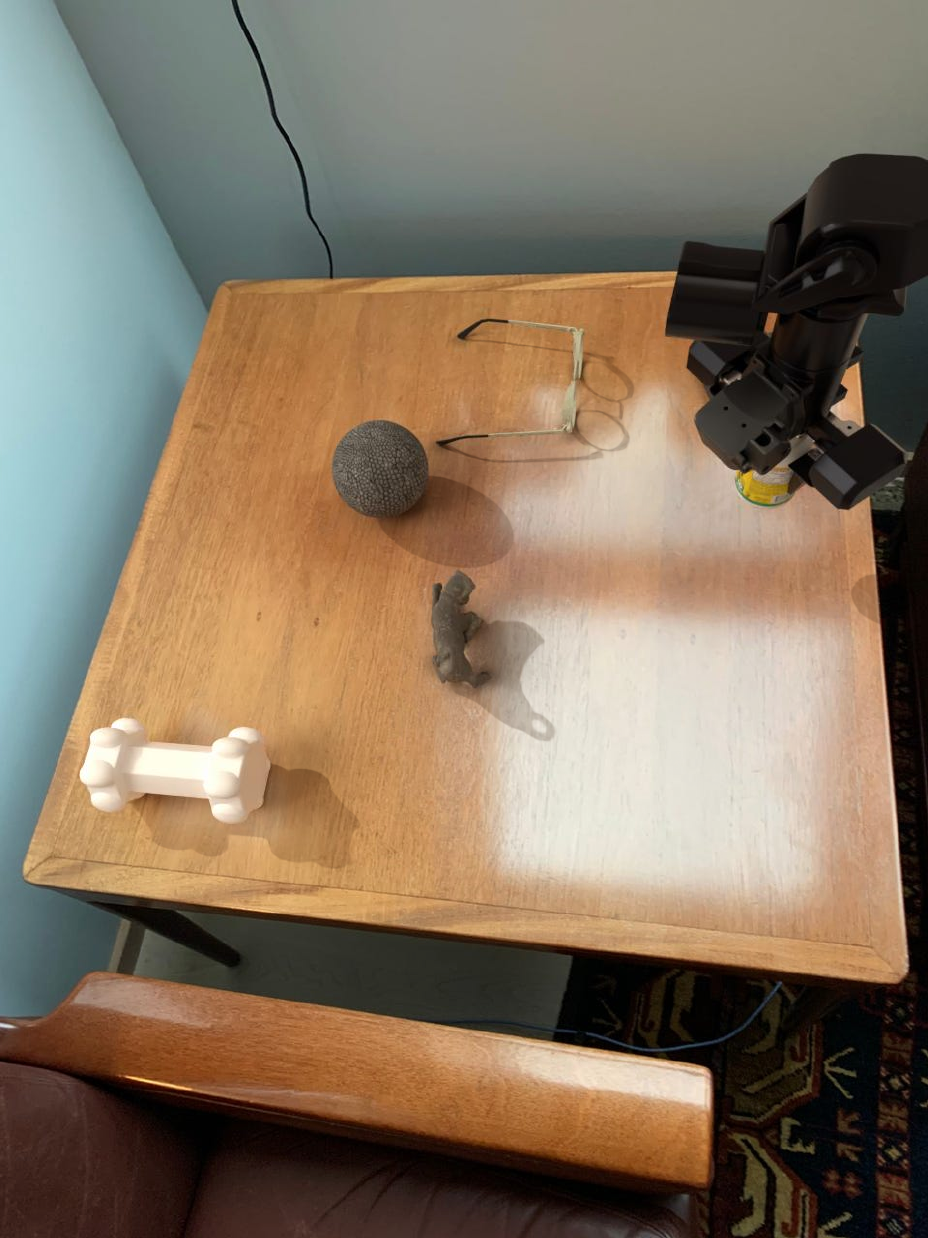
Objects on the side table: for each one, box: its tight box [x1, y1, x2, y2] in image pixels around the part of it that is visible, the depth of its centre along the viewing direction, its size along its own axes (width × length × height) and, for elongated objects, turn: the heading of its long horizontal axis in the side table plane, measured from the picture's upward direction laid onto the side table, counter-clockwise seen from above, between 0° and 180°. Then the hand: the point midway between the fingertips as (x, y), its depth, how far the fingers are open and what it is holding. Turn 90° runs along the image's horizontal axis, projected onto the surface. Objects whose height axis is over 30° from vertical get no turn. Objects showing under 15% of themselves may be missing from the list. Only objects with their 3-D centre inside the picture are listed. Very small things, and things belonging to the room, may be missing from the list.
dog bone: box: [79, 717, 271, 825], centre depth 79 cm, size 15×9×8 cm, turn 83°
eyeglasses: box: [435, 318, 586, 446], centre depth 96 cm, size 17×15×5 cm
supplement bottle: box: [734, 434, 814, 511], centre depth 74 cm, size 5×5×10 cm
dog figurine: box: [430, 569, 492, 689], centre depth 82 cm, size 12×6×7 cm, turn 1°
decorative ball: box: [331, 419, 430, 519], centre depth 90 cm, size 10×10×10 cm
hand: (770, 469), depth 76 cm, fingers closed on supplement bottle, 5 cm apart
